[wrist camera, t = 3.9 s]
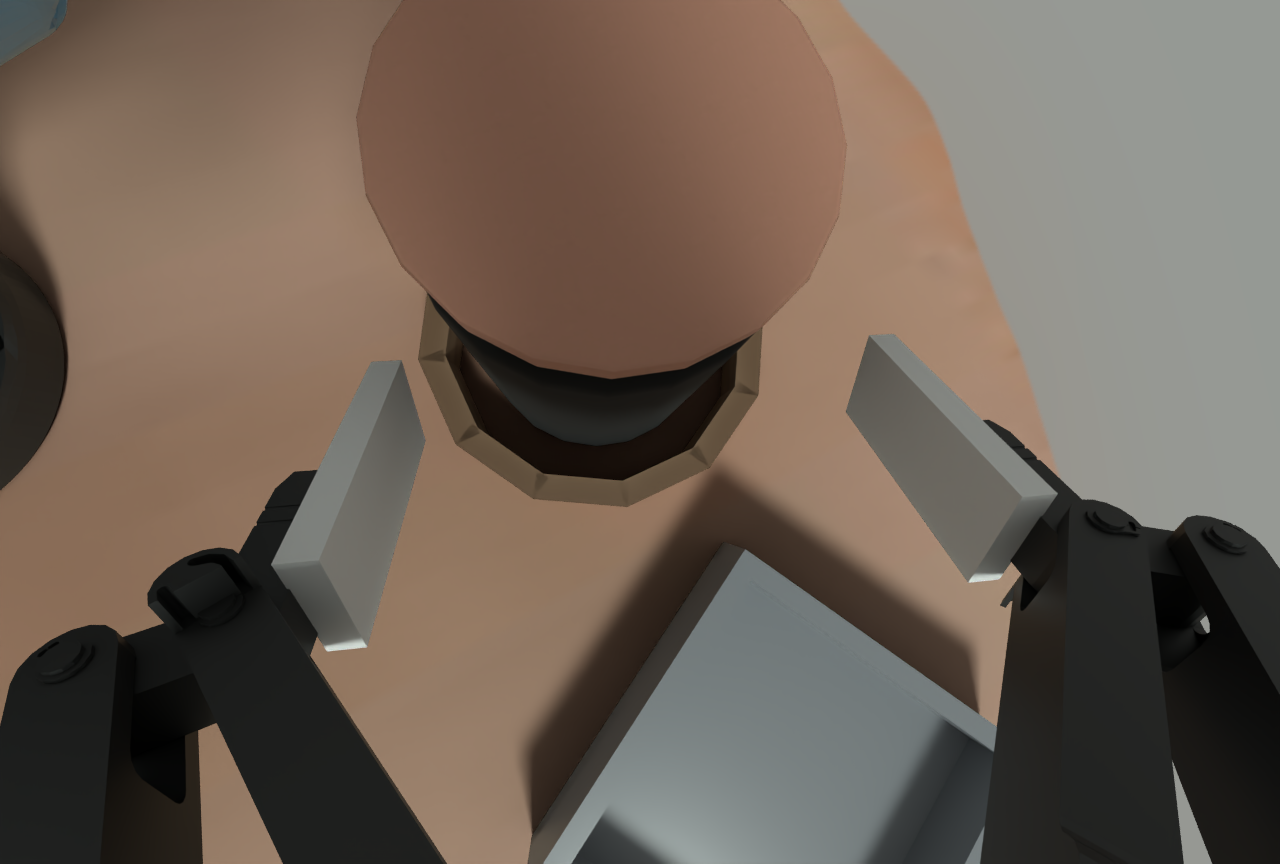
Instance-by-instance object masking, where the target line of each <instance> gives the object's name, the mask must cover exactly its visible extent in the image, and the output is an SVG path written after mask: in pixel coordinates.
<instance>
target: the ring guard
mask: <svg viewBox="0 0 1280 864" xmlns="http://www.w3.org/2000/svg"><path fill="white" fill-rule="evenodd" d="M761 342H762V328H761V329H760V330H759V331H757V332H755V333H754V334H753V335H752V336H751V337H750V339H749V340H748V341H747V342H746V343H745V344H744V345H743V346H742V347H741V348H740V349H739V350H738V351H737V352H736V353H735V354H734V355H733V356H732V357H731V358H730V359H729V360H728V361H727V362H726V363H725V364H724V365H722V378H721V392H720V398H719V400H718V401H717V402H716V404H715V405H714V407H713V408H712V410H711V411H710V413H709V414H708V416H707V417H706V419H705V420H704V421H703V423H702V424H701V426H700V427H699V429H698V430H697V432H696V433H695V435H694V436H693V437H692V439H691V440H690V442H689V443H688V445H687V446H686V448H685V449H684V451H683V452H682V453H680V454H678V455H676V456H674V457H672V458H670V459H668V460H665V461H663V462H661V463H659V464H657V465H655V466H653V467H650V468H648V469H646V470H644V471H642V472H640V473H638V474H635V475H633V476H631V477H629V478H627V479H625V480H623V481H619V480H607V479H596V478H585V477H574V476H562V475H551V474H544V473H543V472H541V471H540V470H538V469H537V468H535V467H534V466H533V465H531V464H530V463H528V462H527V461H526V460H524V459H523V458H521V457H520V456H518V455H517V454H516V453H514V452H513V451H511V450H510V449H509V448H507V447H506V446H504V445H503V444H501V443H500V442H499V441H497V440H496V439H494V438H493V437H491V436H490V435H489V434H488V432H487V430H486V428H485V425H484V423H483V421H482V419H481V416H480V414H479V412H478V410H477V407H476V405H475V403H474V401H473V399H472V396H471V394H470V392H469V390H468V387H467V385H466V383H465V381H464V378H463V376H462V374H461V372H460V364H461V356H462V348H463V343H462V342H461V341H460V339H459V338H458V337H457V336H456V335H455V333H454V332H453V331H452V330H451V328H450V327H449V326H448V325H447V323H446V322H445V321H444V320H443V318H442V317H441V316H440V315H439V314H438V312H437V311H436V310H435V308H434V306H433V304H432V302H431V300H430V298H429V296H428V294H427V299H426V306H425V313H424V321H423V328H422V335H421V342H420V349H419V357H418V360H419V362H420V365H421V367H422V369H423V372H424V374H425V376H426V378H427V381H428V383H429V385H430V387H431V390H432V392H433V394H434V396H435V399H436V401H437V403H438V405H439V408H440V410H441V412H442V414H443V417H444V419H445V421H446V423H447V426H448V428H449V430H450V433H451V435H452V437H453V439H454V442H455V444H456V445H457V446H459V447H460V448H462V449H463V450H465V451H466V452H467V453H469V454H470V455H472V456H473V457H474V458H476V459H477V460H479V461H480V462H482V463H483V464H484V465H486V466H487V467H489V468H490V469H492V470H493V471H494V472H496V473H497V474H499V475H500V476H501V477H503V478H504V479H506V480H507V481H509V482H510V483H511V484H513V485H514V486H516V487H517V488H519V489H520V490H521V491H523V492H524V493H526V494H527V495H528V496H530V497H531V498H533V499H540V500H552V501H564V502H576V503H587V504H599V505H611V506H623V507H628V506H630V505H632V504H634V503H636V502H639V501H641V500H643V499H645V498H647V497H649V496H651V495H653V494H655V493H658V492H660V491H662V490H664V489H666V488H668V487H670V486H672V485H674V484H676V483H679V482H681V481H683V480H685V479H687V478H689V477H691V476H693V475H695V474H698V473H700V472H702V471H704V470H706V469H708V468H710V466H711V465H712V463H713V462H714V460H715V459H716V457H717V456H718V454H719V453H720V451H721V450H722V448H723V447H724V445H725V444H726V443H727V441H728V440H729V438H730V437H731V435H732V434H733V432H734V431H735V429H736V428H737V426H738V425H739V423H740V422H741V420H742V419H743V417H744V416H745V414H746V413H747V411H748V410H749V408H750V407H751V405H752V404H753V402H754V401H755V399H756V398H757V396H758V392H759V375H760V358H761Z"/></svg>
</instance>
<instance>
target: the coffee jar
mask: <svg viewBox="0 0 1280 864" xmlns="http://www.w3.org/2000/svg"><path fill="white" fill-rule="evenodd" d="M356 118H357V127H358V135H359V143H360V151H361V159H362V167H363V175H364V183H365V191H366V197H367V199H368V201H369V203H370V205H371V207H372V209H373V211H374V213H375V215H376V217H377V219H378V221H379V223H380V225H381V227H382V229H383V231H384V233H385V235H386V237H387V239H388V241H389V243H390V245H391V247H392V249H393V251H394V253H395V255H396V257H397V259H398V261H399V263H400V265H401V267H402V268H403V269H404V270H405V271H406V272H408V273H409V274H410V275H411V276H412V277H413V278H414V279H415V280H416V281H417V282H418V283H419V284H420V285H421V286H422V287H423V288H424V289H425V290H426V292H427V294H428V296H429V298H430V300H431V302H432V304H433V306H434V308H435V310H436V311H437V312H438V314H439V315H440V316H441V317H442V318H443V320H444V321H445V322H446V323H447V325H448V326H449V327H450V328H451V330H452V331H453V332H454V333H455V335H456V336H457V337H458V338H459V339H460V341H461V342H462V343H463V344H464V346H465V347H466V348H467V349H468V351H469V352H470V353H471V354H472V356H473V357H474V358H475V359H476V360H477V362H478V363H479V364H480V365H481V367H482V368H483V369H484V370H485V372H486V373H487V374H488V375H489V377H490V378H491V379H492V380H493V381H494V383H495V384H496V385H497V386H498V388H499V389H500V390H501V391H502V393H503V394H504V395H505V396H506V398H507V399H508V400H509V401H510V402H511V404H512V405H513V406H515V407H516V408H517V409H518V410H519V411H520V412H521V413H522V414H523V415H524V416H525V417H526V418H527V419H528V420H529V421H530V422H531V423H532V424H533V425H534V426H535V427H537V428H539V429H541V430H543V431H545V432H547V433H549V434H551V435H553V436H555V437H557V438H559V439H561V440H563V441H567V442H573V443H580V444H586V445H593V446H600V445H607V444H613V443H620V442H626V441H630V440H632V439H634V438H636V437H638V436H640V435H642V434H644V433H646V432H648V431H650V430H651V429H653V428H655V427H657V426H659V425H660V424H661V423H662V422H663V421H664V420H665V419H666V418H667V417H668V416H669V415H670V414H671V413H672V412H673V411H674V410H676V409H677V408H678V407H679V406H680V405H681V404H682V403H683V402H684V401H685V400H686V399H687V398H688V397H689V396H690V395H692V394H693V393H694V392H695V391H696V390H697V389H698V388H699V387H700V386H701V385H702V384H703V383H704V382H705V381H706V380H708V379H709V378H710V377H711V376H712V375H713V374H714V373H715V372H716V371H717V370H718V369H719V368H720V367H721V366H722V365H724V364H725V363H726V362H727V361H728V360H729V359H730V358H731V357H732V356H733V355H734V354H735V353H736V352H737V351H738V350H739V349H740V348H741V347H742V346H743V345H744V344H745V343H746V342H747V341H748V340H749V339H750V337H751V336H752V335H753V334H754V333H755V332H757V331H759V330H760V329H761V328H762V327H763V326H764V325H765V324H766V323H767V322H768V321H769V320H770V319H771V318H772V317H773V315H774V314H775V313H776V312H777V311H778V310H779V309H780V308H781V307H782V306H783V305H784V304H785V303H786V302H787V301H788V300H789V299H790V298H791V297H792V296H793V295H794V294H795V293H796V292H797V291H798V290H799V289H800V288H801V287H802V286H803V285H804V284H805V283H806V282H807V281H808V280H809V279H810V277H811V274H812V272H813V270H814V268H815V266H816V264H817V262H818V260H819V258H820V255H821V253H822V251H823V249H824V247H825V245H826V243H827V241H828V238H829V236H830V234H831V232H832V230H833V228H834V226H835V224H836V222H837V219H838V217H839V214H840V205H841V195H842V186H843V177H844V168H845V158H846V149H847V143H846V139H845V134H844V130H843V125H842V120H841V116H840V111H839V106H838V102H837V97H836V93H835V88H834V83H833V79H832V76H831V75H830V73H829V71H828V69H827V68H826V66H825V64H824V62H823V60H822V59H821V57H820V55H819V53H818V52H817V50H816V48H815V46H814V44H813V43H812V41H811V39H810V37H809V36H808V34H807V32H806V30H805V29H804V27H803V25H802V23H801V21H800V20H799V18H798V16H797V15H795V14H794V13H793V12H792V11H791V10H790V9H789V8H788V7H787V6H786V5H785V4H784V3H783V2H782V1H781V0H403V1H402V3H401V4H400V6H399V7H398V9H397V10H396V12H395V13H394V15H393V16H392V18H391V19H390V21H389V22H388V24H387V25H386V27H385V28H384V30H383V31H382V33H381V34H380V36H379V37H378V39H377V41H376V42H375V44H374V45H373V49H372V53H371V57H370V61H369V66H368V70H367V74H366V78H365V83H364V87H363V91H362V95H361V100H360V104H359V108H358V112H357V117H356Z"/></svg>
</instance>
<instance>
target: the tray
mask: <svg viewBox="0 0 1280 864" xmlns="http://www.w3.org/2000/svg"><path fill="white" fill-rule="evenodd" d="M996 731H997V727H996V726H995V725H993V724H992V723H990V722H989V721H988V720H986V719H985V718H983V717H982V716H981V715H979V714H978V713H976V712H975V711H974V710H972V709H971V708H969V707H968V706H966V705H965V704H964V703H962V702H961V701H959V700H958V699H957V698H955V697H954V696H952V695H951V694H949V693H948V692H947V691H945V690H944V689H942V688H941V687H940V686H938V685H937V684H935V683H934V682H932V681H931V680H930V679H928V678H927V677H925V676H924V675H923V674H921V673H920V672H918V671H917V670H916V669H914V668H913V667H911V666H910V665H908V664H907V663H906V662H904V661H903V660H901V659H900V658H899V657H897V656H896V655H894V654H893V653H891V652H890V651H889V650H887V649H886V648H884V647H883V646H882V645H880V644H879V643H877V642H876V641H874V640H873V639H872V638H870V637H869V636H867V635H866V634H865V633H863V632H862V631H860V630H859V629H858V628H856V627H855V626H853V625H852V624H850V623H849V622H848V621H846V620H845V619H843V618H842V617H841V616H839V615H838V614H836V613H835V612H833V611H832V610H831V609H829V608H828V607H826V606H825V605H824V604H822V603H821V602H819V601H818V600H816V599H815V598H814V597H812V596H811V595H809V594H808V593H807V592H805V591H804V590H802V589H801V588H800V587H798V586H797V585H795V584H794V583H792V582H791V581H790V580H788V579H787V578H785V577H784V576H783V575H781V574H780V573H778V572H777V571H775V570H774V569H773V568H771V567H770V566H768V565H767V564H766V563H764V562H763V561H761V560H760V559H759V558H757V557H756V556H754V555H753V554H751V553H750V552H749V551H747V550H746V549H743V548H740V547H738V546H735V545H732V544H729V543H726V542H723V543H722V545H721V546H720V548H719V549H718V551H717V552H716V554H715V555H714V557H713V558H712V560H711V561H710V563H709V564H708V566H707V568H706V569H705V571H704V572H703V574H702V575H701V577H700V578H699V580H698V581H697V583H696V584H695V586H694V587H693V589H692V591H691V592H690V594H689V595H688V597H687V598H686V600H685V601H684V603H683V604H682V606H681V607H680V609H679V611H678V612H677V614H676V615H675V617H674V618H673V620H672V621H671V623H670V624H669V626H668V627H667V629H666V630H665V632H664V634H663V635H662V637H661V638H660V640H659V641H658V643H657V644H656V646H655V647H654V649H653V650H652V652H651V653H650V655H649V657H648V658H647V660H646V661H645V663H644V664H643V666H642V667H641V669H640V670H639V672H638V673H637V675H636V676H635V678H634V680H633V681H632V683H631V684H630V686H629V687H628V689H627V690H626V692H625V693H624V695H623V696H622V698H621V699H620V701H619V703H618V704H617V706H616V707H615V709H614V710H613V712H612V713H611V715H610V716H609V718H608V719H607V721H606V723H605V724H604V726H603V727H602V729H601V730H600V732H599V733H598V735H597V736H596V738H595V739H594V741H593V742H592V744H591V746H590V747H589V749H588V750H587V752H586V753H585V755H584V756H583V758H582V759H581V761H580V762H579V764H578V765H577V767H576V769H575V770H574V772H573V773H572V775H571V776H570V778H569V779H568V781H567V782H566V784H565V785H564V787H563V788H562V790H561V792H560V793H559V795H558V796H557V798H556V799H555V801H554V802H553V804H552V805H551V807H550V808H549V810H548V811H547V813H546V815H545V816H544V818H543V819H542V821H541V822H540V824H539V825H538V827H537V828H536V830H535V831H534V833H533V835H532V838H531V845H530V851H529V858H528V864H980V859H981V851H982V843H983V835H984V827H985V819H986V811H987V803H988V795H989V787H990V779H991V771H992V763H993V755H994V747H995V739H996Z"/></svg>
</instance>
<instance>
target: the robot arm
mask: <svg viewBox="0 0 1280 864" xmlns="http://www.w3.org/2000/svg"><path fill="white" fill-rule="evenodd" d="M67 2H68V0H0V66H1V65H3V64H4V63H6V62H8V61H9V60H11V59H13V58H14V57H16V56H17V55H19V54H21V53H22V52H24V51H25V50H27V49H29V48H30V47H32V46H34V45H35V44H37V43H38V42H40V41H42V40H43V39H45V38H46V37H48V36H50V35H51V34H52V33H53V32H55V31H56V30H57V28H58V27H59V26H60V24H61V23H62V22H63V20H64V17H65V15H66V11H67ZM63 378H64V352H63V345H62V339H61V335H60V331H59V327H58V324H57V321H56V318H55V316H54V314H53V312H52V309H51V307H50V305H49V304H48V302H47V300H46V298H45V297H44V295H43V294H42V292H41V291H40V289H39V288H38V287H37V285H36V284H35V283H34V282H33V280H32V279H31V278H30V277H29V276H28V275H27V274H26V273H25V272H24V271H23V270H22V269H21V268H20V267H18V266H17V265H16V264H15V263H14V262H12V261H11V260H10V259H8V258H7V257H6V256H4V255H3V254H1V253H0V490H1V489H2V488H3V487H4V486H6V485H7V484H8V483H9V482H10V481H11V480H12V479H13V478H14V477H15V476H16V475H17V474H18V473H19V472H20V471H21V470H22V469H23V467H24V466H25V465H26V464H27V463H28V461H29V460H30V459H31V457H32V456H33V455H34V453H35V452H36V451H37V449H38V447H39V446H40V444H41V443H42V441H43V439H44V438H45V436H46V434H47V432H48V430H49V428H50V426H51V423H52V421H53V419H54V416H55V413H56V410H57V408H58V404H59V400H60V397H61V392H62V386H63ZM846 413H847V414H848V416H849V417H850V418H851V420H852V421H853V422H854V424H855V425H856V427H857V428H858V429H859V431H860V432H861V434H862V435H863V436H864V438H865V439H866V441H867V442H868V443H869V445H870V446H871V448H872V449H873V450H874V452H875V453H876V455H877V456H878V457H879V459H880V460H881V462H882V463H883V464H884V466H885V467H886V469H887V470H888V471H889V473H890V474H891V476H892V477H893V478H894V480H895V481H896V483H897V484H898V485H899V487H900V488H901V489H902V491H903V492H904V494H905V495H906V496H907V498H908V499H909V501H910V502H911V503H912V505H913V506H914V508H915V509H916V510H917V512H918V513H919V515H920V516H921V517H922V519H923V520H924V522H925V523H926V524H927V526H928V527H929V529H930V530H931V531H932V533H933V534H934V536H935V537H936V538H937V540H938V541H939V543H940V544H941V545H942V547H943V548H944V550H945V551H946V552H947V554H948V555H949V556H950V558H951V559H952V561H953V562H954V563H955V565H956V566H957V568H958V569H959V570H960V572H961V573H962V575H963V576H964V577H965V579H966V580H967V582H968V583H970V582H979V581H988V580H997V579H1000V577H1001V576H1002V574H1003V573H1004V571H1005V570H1006V569H1007V567H1008V566H1009V564H1010V563H1011V562H1012V563H1013V564H1014V566H1015V567H1016V568H1017V569H1018V571H1019V572H1020V573H1021V575H1020V577H1019V578H1018V579H1017V581H1016V582H1015V584H1014V585H1013V586H1012V588H1011V589H1010V591H1009V592H1008V593H1007V595H1006V596H1005V598H1004V599H1003V601H1002V603H1001V605H1000V606H1003V607H1005V608H1006V606H1007V605H1008V604H1009V602H1010V601H1013V602H1012V610H1011V618H1010V626H1009V634H1008V642H1007V650H1006V658H1005V666H1004V674H1003V682H1002V690H1001V699H1000V707H999V715H998V723H997V731H996V739H995V747H994V755H993V763H992V771H991V779H990V787H989V795H988V803H987V811H986V819H985V827H984V835H983V843H982V851H981V859H980V864H1184V862H1183V853H1182V844H1181V835H1180V826H1179V818H1178V810H1177V800H1176V791H1175V783H1174V774H1173V766H1172V761H1173V763H1174V766H1175V768H1176V771H1177V774H1178V776H1179V779H1180V781H1181V784H1182V787H1183V789H1184V792H1185V794H1186V797H1187V800H1188V802H1189V804H1190V807H1191V810H1192V812H1193V815H1194V818H1195V820H1196V822H1197V825H1198V828H1199V831H1200V833H1201V836H1202V838H1203V841H1204V844H1205V846H1206V849H1207V851H1208V854H1209V856H1210V859H1211V862H1212V864H1280V568H1279V567H1278V566H1277V564H1276V563H1275V561H1274V560H1273V559H1272V557H1271V556H1270V554H1269V553H1268V552H1267V550H1266V549H1265V548H1264V547H1263V546H1262V545H1261V544H1260V542H1258V541H1257V540H1256V538H1254V537H1252V536H1251V535H1250V534H1248V533H1246V532H1245V531H1244V530H1243V529H1241V528H1239V527H1237V526H1236V525H1233V524H1231V523H1229V522H1226V521H1222V520H1219V519H1216V518H1212V517H1207V516H1198V515H1196V516H1191V517H1187V518H1186V519H1185V520H1184V521H1183V522H1182V524H1181V525H1180V526H1179V527H1178V528H1177V529H1176V530H1175V531H1169V530H1163V529H1156V528H1149V527H1143V526H1141V525H1140V524H1139V523H1138V522H1137V521H1136V520H1135V519H1134V518H1133V517H1132V516H1130V515H1129V514H1127V513H1126V512H1124V511H1123V510H1121V509H1119V508H1117V507H1114V506H1112V505H1110V504H1107V503H1104V502H1100V501H1096V500H1082V499H1081V498H1080V497H1079V496H1078V495H1077V494H1076V493H1074V492H1073V491H1072V490H1071V489H1070V488H1069V487H1068V486H1067V485H1066V484H1065V483H1064V482H1063V481H1062V480H1061V479H1060V478H1058V477H1057V476H1056V475H1055V474H1054V473H1053V472H1052V471H1051V470H1050V469H1049V468H1048V467H1047V466H1046V465H1045V464H1044V463H1043V462H1041V461H1040V460H1037V457H1036V456H1035V455H1034V454H1033V453H1032V452H1031V451H1030V450H1029V449H1025V446H1024V445H1023V444H1022V443H1021V442H1020V441H1019V440H1018V439H1017V438H1016V437H1015V436H1014V435H1013V434H1012V433H1011V432H1009V431H1008V430H1006V429H1004V428H1003V427H1001V426H999V425H997V424H996V423H994V422H992V421H990V420H982V419H981V418H980V417H979V416H977V415H976V414H975V413H974V412H973V411H972V410H971V409H970V408H969V407H968V406H967V405H966V404H965V403H964V402H963V401H962V400H961V399H960V398H959V397H958V396H957V395H956V394H955V393H954V392H953V391H952V390H951V389H950V388H949V387H948V386H947V385H946V384H945V383H944V382H943V381H942V380H941V379H939V378H938V377H937V376H936V375H935V374H934V373H933V372H932V371H931V370H930V369H929V368H928V367H927V366H926V365H925V364H924V363H923V362H922V361H921V360H920V359H919V358H918V357H917V356H916V355H915V354H914V353H913V352H912V351H911V350H910V349H909V348H908V347H907V346H906V345H905V344H904V343H903V342H902V341H900V340H899V339H898V338H897V337H896V336H895V335H894V334H886V335H869V337H868V341H867V344H866V347H865V351H864V354H863V357H862V360H861V364H860V367H859V370H858V373H857V377H856V380H855V383H854V386H853V390H852V393H851V396H850V399H849V403H848V406H847V409H846ZM425 441H426V440H425V437H424V434H423V430H422V427H421V424H420V420H419V417H418V414H417V410H416V407H415V404H414V400H413V397H412V394H411V390H410V387H409V384H408V380H407V377H406V374H405V370H404V367H403V364H402V360H397V361H378V362H371V364H370V366H369V368H368V370H367V372H366V374H365V376H364V378H363V380H362V382H361V384H360V386H359V388H358V390H357V392H356V394H355V396H354V398H353V400H352V402H351V404H350V406H349V408H348V410H347V412H346V414H345V416H344V418H343V420H342V422H341V424H340V426H339V428H338V430H337V432H336V434H335V436H334V438H333V440H332V442H331V444H330V446H329V448H328V450H327V453H326V455H325V457H324V459H323V461H322V463H321V465H320V467H319V469H318V470H312V471H299V472H293V473H292V474H291V475H290V476H289V477H288V478H287V479H286V480H285V481H283V482H282V483H281V484H280V485H279V486H278V487H277V488H276V489H275V490H274V492H273V494H272V496H271V497H270V499H269V501H268V503H267V504H266V506H265V511H263V512H262V513H261V515H260V517H259V519H258V520H257V526H254V528H253V529H252V531H251V533H250V535H249V536H248V538H247V540H246V542H245V544H244V545H243V547H242V549H241V551H240V552H239V554H238V553H237V552H235V551H234V550H233V549H226V548H214V549H207V550H202V551H199V552H197V553H194V554H192V555H189V556H187V557H184V558H183V559H181V560H179V561H178V562H176V563H175V564H173V565H171V566H170V567H168V568H167V569H166V570H165V571H164V572H163V573H162V574H161V575H160V576H159V577H158V578H157V579H156V580H155V581H154V583H153V584H152V586H151V588H150V590H149V592H148V594H147V595H148V606H149V607H150V608H151V609H152V610H153V611H154V612H155V613H156V614H157V616H158V617H159V618H160V619H161V620H162V621H163V622H164V624H161V625H158V626H155V627H152V628H149V629H146V630H143V631H140V632H137V633H134V634H131V635H128V636H125V637H122V636H121V635H119V634H118V633H117V632H116V631H115V630H113V629H112V628H110V627H108V626H106V625H88V626H85V627H81V628H77V629H74V630H70V631H68V632H66V633H64V634H62V635H60V636H58V637H56V638H54V639H52V640H50V641H49V642H47V643H46V644H45V645H43V646H42V647H41V648H39V649H38V650H36V651H35V652H34V653H32V654H31V655H30V656H29V657H28V658H27V660H26V661H25V662H24V663H23V664H22V665H21V666H20V667H19V668H18V669H17V671H16V673H15V675H14V677H13V679H12V681H11V683H10V686H9V690H8V695H7V699H6V703H5V708H4V712H3V716H2V720H1V725H0V864H203V855H202V827H201V800H200V772H199V745H198V730H200V729H202V728H205V727H207V726H210V725H212V724H215V723H217V724H218V726H219V729H220V731H221V733H222V735H223V737H224V739H225V741H226V743H227V746H228V748H229V750H230V752H231V754H232V756H233V758H234V760H235V763H236V765H237V767H238V769H239V771H240V773H241V775H242V777H243V780H244V782H245V784H246V786H247V788H248V790H249V792H250V794H251V797H252V799H253V801H254V803H255V805H256V807H257V809H258V811H259V814H260V816H261V818H262V820H263V822H264V824H265V826H266V828H267V831H268V833H269V835H270V837H271V839H272V841H273V843H274V845H275V848H276V850H277V852H278V854H279V856H280V858H281V860H282V862H283V864H447V863H446V861H445V860H444V858H443V857H442V855H441V854H440V852H439V851H438V849H437V848H436V846H435V845H434V843H433V842H432V840H431V839H430V837H429V836H428V834H427V833H426V831H425V829H424V828H423V826H422V825H421V823H420V822H419V820H418V819H417V817H416V816H415V814H414V813H413V811H412V810H411V808H410V807H409V805H408V804H407V802H406V801H405V799H404V798H403V796H402V795H401V793H400V791H399V790H398V788H397V787H396V785H395V784H394V782H393V781H392V779H391V778H390V776H389V775H388V773H387V772H386V770H385V769H384V767H383V766H382V764H381V763H380V761H379V760H378V758H377V757H376V755H375V753H374V752H373V750H372V749H371V747H370V746H369V744H368V743H367V741H366V740H365V738H364V737H363V735H362V734H361V732H360V731H359V729H358V728H357V726H356V725H355V723H354V722H353V720H352V718H351V717H350V715H349V714H348V712H347V711H346V709H345V708H344V706H343V705H342V703H341V702H340V700H339V699H338V697H337V696H336V694H335V693H334V691H333V690H332V688H331V687H330V685H329V684H328V682H327V680H326V679H325V677H324V676H323V674H322V673H321V671H320V670H319V668H318V667H317V665H316V664H315V662H314V661H313V659H312V658H311V656H310V654H311V651H312V649H313V646H314V643H315V641H316V638H317V636H318V638H319V640H320V641H321V643H322V644H323V646H324V647H325V649H326V650H327V651H336V650H345V649H354V648H364V647H367V646H368V642H369V639H370V635H371V631H372V628H373V624H374V621H375V617H376V614H377V610H378V607H379V603H380V600H381V596H382V593H383V589H384V586H385V582H386V579H387V575H388V571H389V568H390V564H391V561H392V557H393V554H394V550H395V547H396V543H397V540H398V536H399V533H400V529H401V526H402V522H403V519H404V515H405V511H406V508H407V504H408V501H409V497H410V494H411V490H412V487H413V483H414V480H415V476H416V473H417V469H418V466H419V462H420V459H421V455H422V451H423V448H424V444H425ZM1206 615H1207V617H1208V620H1209V623H1210V632H1209V633H1206V631H1205V630H1204V628H1203V626H1202V624H1201V622H1200V621H1201V620H1202V619H1203V618H1204V617H1205V616H1206Z"/></svg>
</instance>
